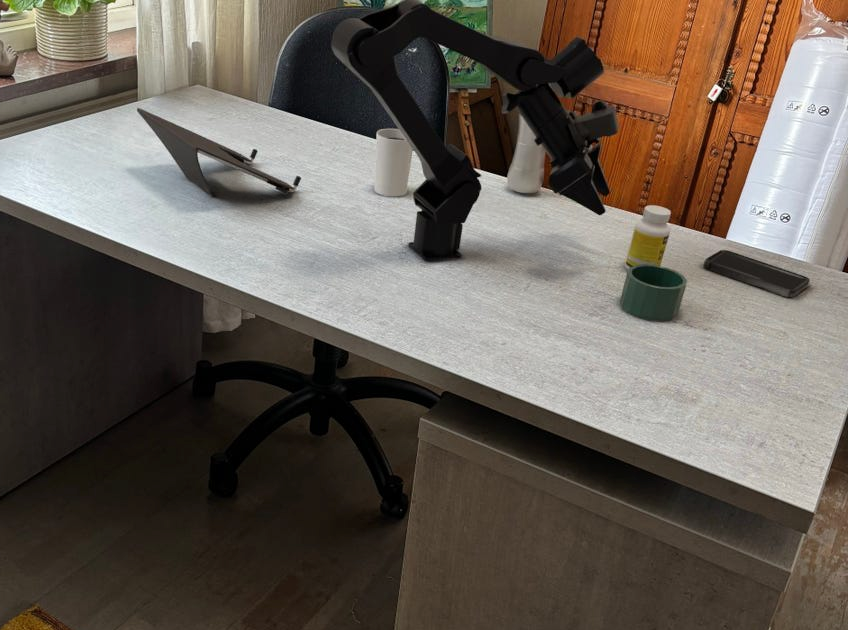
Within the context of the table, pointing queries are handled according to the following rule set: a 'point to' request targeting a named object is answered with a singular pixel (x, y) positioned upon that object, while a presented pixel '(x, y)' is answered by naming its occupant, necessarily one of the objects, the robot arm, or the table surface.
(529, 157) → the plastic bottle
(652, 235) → the supplement bottle
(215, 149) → the laptop stand
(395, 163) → the white cup
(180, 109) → the table surface
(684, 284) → the crock
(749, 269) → the phone
